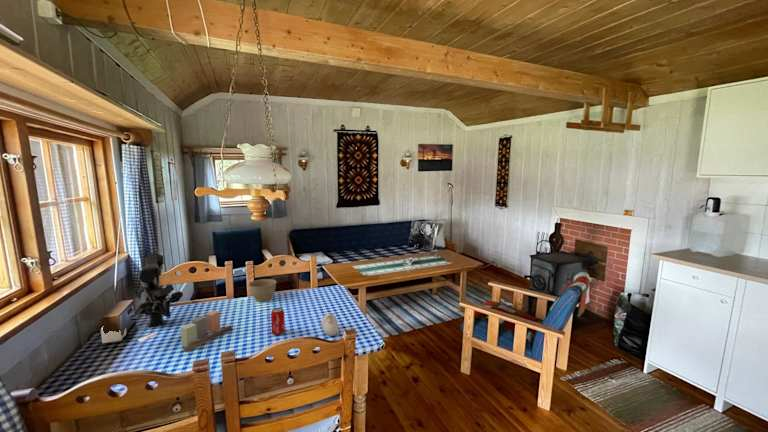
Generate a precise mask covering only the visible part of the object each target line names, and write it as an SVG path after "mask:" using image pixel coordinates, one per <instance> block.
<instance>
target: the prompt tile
mask: <svg viewBox="0 0 768 432" xmlns="http://www.w3.org/2000/svg"><path fill="white" fill-rule="evenodd" d="M157 335H158V334H157V333H154V332H153V333H151V334H147V335H145V336H143V337H140V338H139V339H137V342H139V343H140V342H141V343H142V342H143V341H145V340H148V339H151V338H153V337H155V336H157Z"/></svg>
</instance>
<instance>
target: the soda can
mask: <svg viewBox="0 0 768 432" xmlns="http://www.w3.org/2000/svg"><path fill="white" fill-rule="evenodd" d="M270 321H271V324H270V325H271V327H270V328H271V334H272V335H276V336H279V335H282V334H283V333H285V327H286V324H285V323H286V322H285V311H284V308H282V307H275V308H273V309H271V313H270Z"/></svg>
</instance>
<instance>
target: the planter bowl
mask: <svg viewBox="0 0 768 432" xmlns="http://www.w3.org/2000/svg"><path fill="white" fill-rule="evenodd" d="M248 287H249V292H250V294H251V296H252V297H253V298H254V300H255V301H256V302H258V303H260V302H268V301H270V300H272V297H273V295H274V294H275V291H276V287H277V280H276V279H271V278H263V279H262V278H261V279H256V280H253V281H251V282H249V283H248Z"/></svg>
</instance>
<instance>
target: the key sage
mask: <svg viewBox="0 0 768 432" xmlns="http://www.w3.org/2000/svg"><path fill="white" fill-rule="evenodd" d="M180 340H181V341H180V342H181V347H182V348H184V347H185V346H188V345H190V344H192V343H194V342H196V341H198V339H197V333H196V325H195V324H192V322H189V323H187V324H185V325H182V326H180Z"/></svg>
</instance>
